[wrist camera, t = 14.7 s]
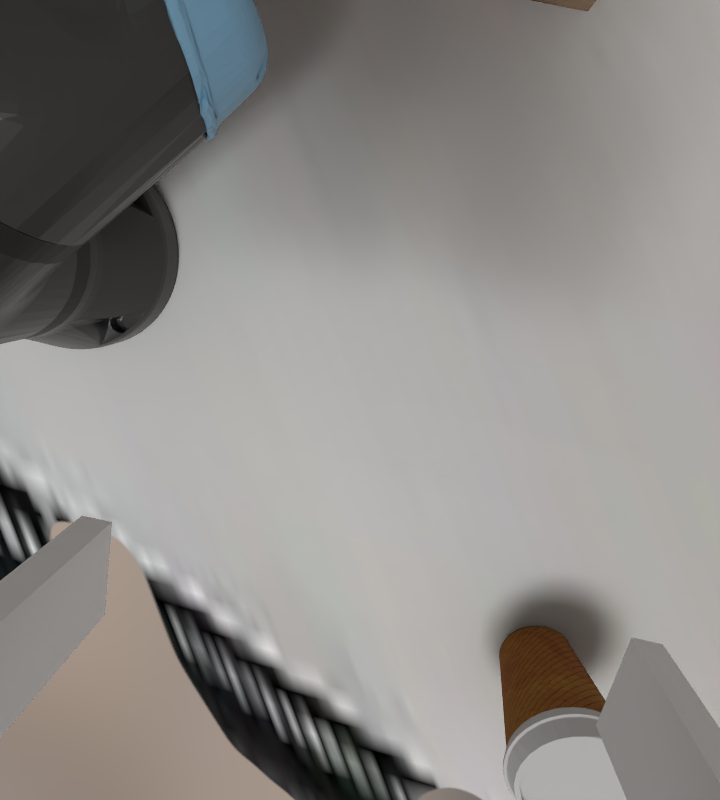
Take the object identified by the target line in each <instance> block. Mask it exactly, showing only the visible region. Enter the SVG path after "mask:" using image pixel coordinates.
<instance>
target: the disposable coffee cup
mask: <svg viewBox="0 0 720 800" xmlns="http://www.w3.org/2000/svg"><path fill="white" fill-rule="evenodd" d="M499 658H500V669H501V683H502V696H503V710H504V723H505V735H506V747H507V748H506V752H505V756H504V760H503V774H504V779H505V782H506V785H507V787H508V789H509V791H510V793H511V794H512V795H513V797H514V798H515V799H516V800H627V799H626V796H625V794H624V792H623V789H622V787H621V784H620V782H619V780H618V777H617V775H616V772H615V770H614V768H613V765H612V763H611V760H610V758H609V756H608V753H607V751H606V748H605V746H604V743H603V741H602V739H601V736H600V734H599V731H598V729H597V727H596V724H597V721H598V719H599V716H600V714H601V712H602V709H603V707H604V704H605V702H606V701H605V700H604V698H603V696H602V695H601V693H600V692H599V690H598V689H597V687H596V685H595V684H594V682H593V681H592V679H591V678H590V676H589V674H588V673H587V671H586V669H585V668H584V667H583V665H582V663H581V662H580V660H579V659H578V657H576V654H575V652H573V649H572V648H571V647H570V644H569V643H568V641H567V640H566V639H565V637H564V636H563V635H561V634H560V633H558V632H557V631H555V630H553V629H550V628H546V627H539V626H532V627H526V628H522V629H520V630H518V631H516V632H514V633H513V634H511V635H510V636H509V637H508V638H507V639H506V640H505V641H504V643H503V645H502V647H501V649H500V655H499Z"/></svg>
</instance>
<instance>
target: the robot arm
mask: <svg viewBox="0 0 720 800" xmlns="http://www.w3.org/2000/svg"><path fill="white" fill-rule="evenodd" d="M267 58H268V49H267V41H266V36H265V32H264V29H263V25H262V22H261V19H260V16H259V14H258V11H257V9H256V6H255V3H254V1H253V0H0V344H2V343H7V342H11V341H16V340H20V339H28V340H32V341H37V342H41V343H45V344H49V345H53V346H58V347H63V348H70V349H92V348H99V347H103V346H107V345H111V344H114V343H118V342H121V341H124V340H127V339H129V338H131V337H133V336H135V335H137V334H138V333H140V332H142V331H143V330H144V329H146V328H147V327H148V326H149V325H150V324H151V323H152V322H153V321H154V320H155V319H156V318H157V317H158V316H159V314H160V313H161V312H162V310H163V309H164V307H165V305H166V304H167V302H168V300H169V297H170V295H171V293H172V290H173V287H174V283H175V279H176V274H177V267H178V247H177V239H176V234H175V229H174V225H173V222H172V219H171V216H170V213H169V211H168V209H167V207H166V205H165V203H164V201H163V199H162V197H161V195H160V194H159V192H158V191H157V189H156V188H155V186H154V185H153V184H154V183H156V182H157V181H158V180H159V179H160V178H161V177H162V176H164V175H165V174H166V173H167V172H168V171H169V170H170V169H171V168H173V167H174V166H175V165H176V164H177V163H178V162H179V161H180V160H182V159H183V158H184V157H185V156H186V155H187V154H188V153H190V152H191V151H192V150H193V149H194V148H195V147H196V146H197V145H199V144H200V143H201V142H202V141H203V140H204V139H206V140H207V141H210V140H212V139H213V138H214V137H215V136H216V134H217V127H218V126H219V125H220V124H221V123H222V122H223V121H224V120H225V119H226V118H227V117H228V116H229V115H230V114H231V113H232V112H233V111H234V110H235V109H237V108H238V107H239V106H240V105H241V104H242V103H243V102H244V101H245V100H246V99H247V98H248V97H249V96H250V95H251V94H252V93H253V92H254V91H255V90H256V88H257V87H258V86H259V84H260V83H261V81H262V79H263V77H264V75H265V72H266V67H267ZM111 525H112V522H108V521H104V520H99V519H95V518H90V517H86V516H81V517H80V518H79V519H77V520H76V521H75V522H74V523H72V524H71V525H70V526H69V527H67V528H66V529H65V530H64V531H62V532H61V533H60V534H59V535H57V536H56V537H55V538H54V539H52V540H51V541H50V542H49V543H47V544H46V545H45V546H44V547H42V548H41V549H40V550H38V551H37V552H36V553H35V554H33V555H32V556H31V557H30V558H28V559H27V560H26V561H25V562H23V563H22V564H21V565H20V566H18V567H17V568H16V569H15V570H13V571H12V572H11V573H10V574H8V575H7V576H6V577H4V578H3V579H2V580H1V581H0V738H1V737H2V735H3V734H4V733H5V732H6V731H7V729H8V728H9V727H10V726H11V725H12V724H13V722H14V721H15V720H16V719H17V718H18V716H19V715H20V714H21V713H22V711H24V709H25V708H26V707H27V706H28V705H29V703H30V702H31V701H32V700H33V699H34V697H35V696H36V695H37V694H38V693H39V692H40V690H41V689H42V688H43V687H44V686H45V684H46V683H47V682H48V681H49V680H50V679H51V677H52V676H53V675H54V674H55V672H56V671H57V670H58V669H59V668H60V667H61V666H62V664H63V663H64V662H65V661H66V660H67V658H68V657H69V656H70V655H71V654H72V652H73V651H74V650H75V649H76V648H77V647H78V645H79V644H80V643H81V641H83V639H84V638H85V637H86V636H87V635H88V634H89V632H90V631H91V630H92V629H93V628H94V626H95V625H96V624H97V623H98V622H99V620H100V619H101V618H102V617H103V616H104V615H105V605H106V592H107V579H108V566H109V552H110V539H111ZM596 727H597V729H598V731H599V734H600V736H601V739H602V741H603V743H604V746H605V748H606V751H607V753H608V756H609V758H610V760H611V763H612V765H613V768H614V770H615V772H616V775H617V777H618V780H619V782H620V784H621V787H622V789H623V792H624V794H625V796H626V799H627V800H720V728H719V727H718V725H717V724H716V722H715V721H714V719H713V718H712V716H711V715H710V713H709V712H708V710H707V709H706V707H705V706H704V704H703V703H702V701H701V700H700V699H699V697H698V696H697V694H696V693H695V691H694V690H693V688H692V687H691V685H690V684H689V682H688V681H687V679H686V678H685V676H684V675H683V673H682V672H681V671H680V669H679V668H678V666H677V665H676V663H675V662H674V660H673V659H672V657H671V656H670V654H669V653H668V651H667V650H666V648H665V647H664V645H663V644H658V643H654V642H649V641H645V640H640V639H636V638H631V640H630V643H629V645H628V648H627V650H626V653H625V655H624V658H623V660H622V662H621V665H620V667H619V670H618V672H617V675H616V677H615V680H614V682H613V685H612V687H611V689H610V692H609V694H608V697H607V699H606V702H605V704H604V707H603V709H602V712H601V714H600V716H599V719H598V721H597V724H596Z"/></svg>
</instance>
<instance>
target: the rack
mask: <svg viewBox="0 0 720 800" xmlns="http://www.w3.org/2000/svg"><path fill="white" fill-rule="evenodd" d="M533 1H538V2H543V3H548V4H554V5H559V6H564V7H569V8H574V9H580V10H585V11H588V10H589V9H590V8H591V6H592V5H593V3H594V2H595V1H596V0H533Z"/></svg>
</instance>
